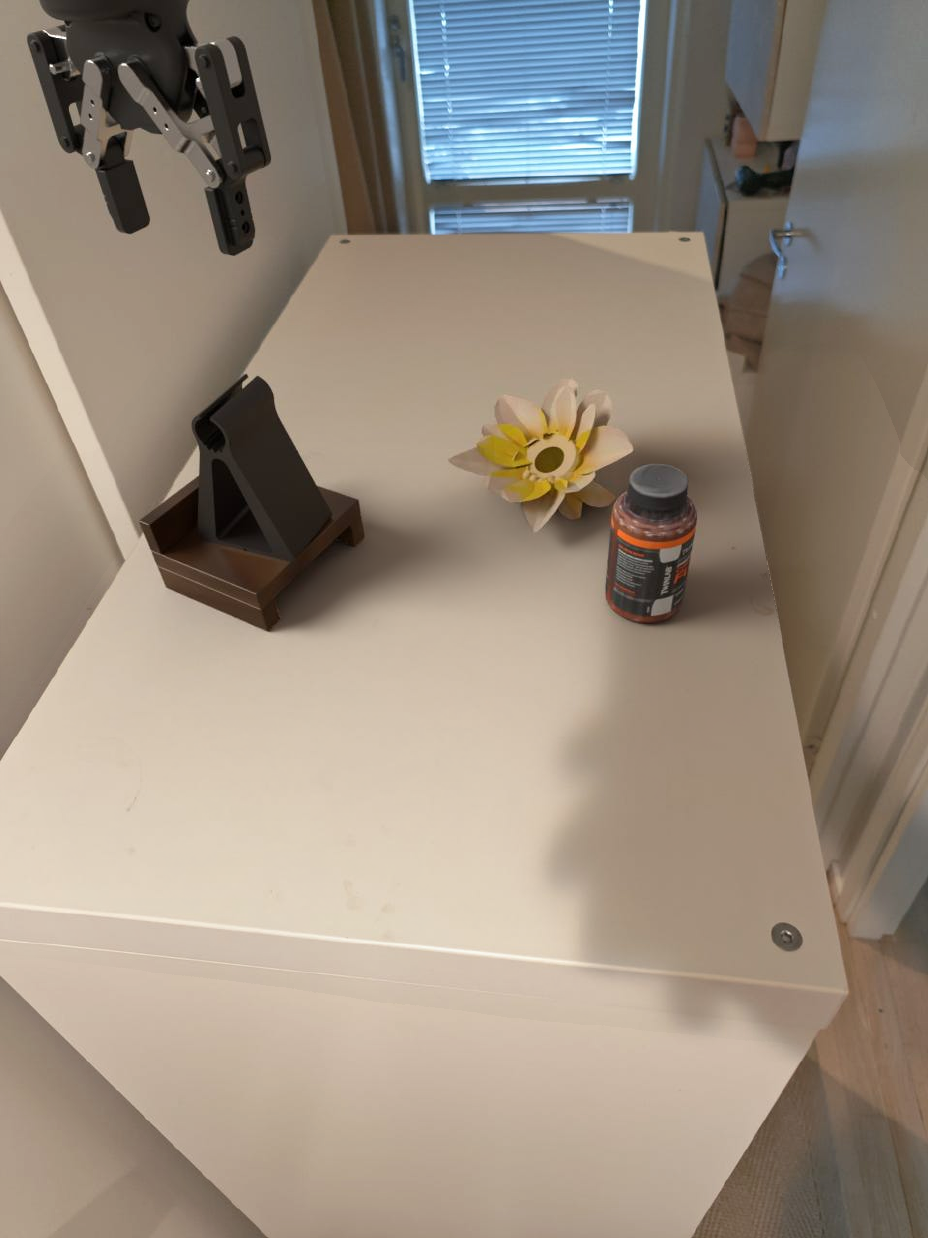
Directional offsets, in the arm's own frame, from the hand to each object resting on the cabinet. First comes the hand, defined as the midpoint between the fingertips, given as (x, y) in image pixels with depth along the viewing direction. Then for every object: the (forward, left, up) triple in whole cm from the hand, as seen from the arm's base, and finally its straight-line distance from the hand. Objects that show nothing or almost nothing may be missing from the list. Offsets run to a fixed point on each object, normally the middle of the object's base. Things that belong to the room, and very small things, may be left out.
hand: (185, 239), depth 51 cm
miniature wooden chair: (+1, +2, -27) cm, 27 cm away
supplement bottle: (+11, -28, -27) cm, 40 cm away
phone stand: (+1, +1, -23) cm, 23 cm away
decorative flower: (+20, -14, -27) cm, 36 cm away
